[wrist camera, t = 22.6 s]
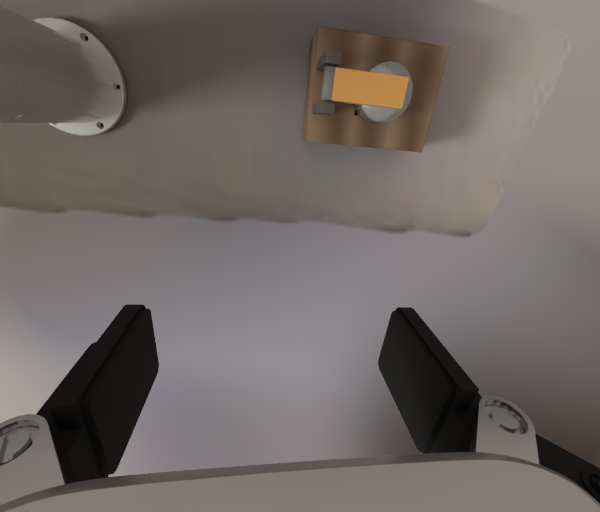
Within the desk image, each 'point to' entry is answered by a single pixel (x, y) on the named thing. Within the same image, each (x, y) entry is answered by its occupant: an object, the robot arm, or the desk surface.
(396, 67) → the silver rounded cylinder
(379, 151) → the desk surface
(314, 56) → the hitch block
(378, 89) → the bar
